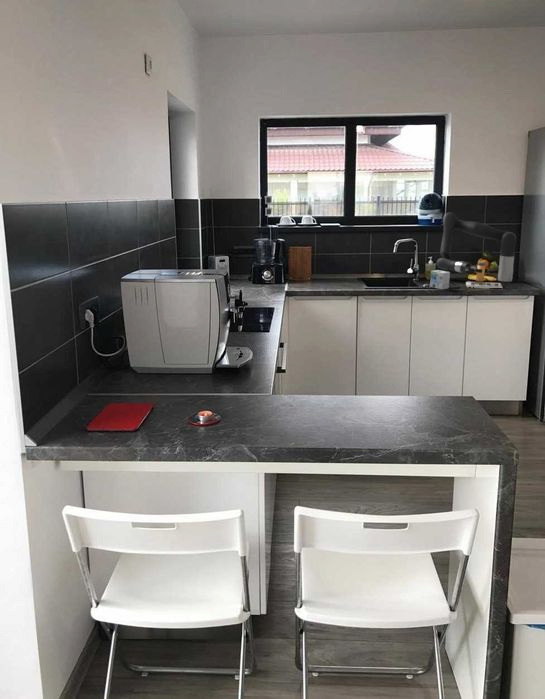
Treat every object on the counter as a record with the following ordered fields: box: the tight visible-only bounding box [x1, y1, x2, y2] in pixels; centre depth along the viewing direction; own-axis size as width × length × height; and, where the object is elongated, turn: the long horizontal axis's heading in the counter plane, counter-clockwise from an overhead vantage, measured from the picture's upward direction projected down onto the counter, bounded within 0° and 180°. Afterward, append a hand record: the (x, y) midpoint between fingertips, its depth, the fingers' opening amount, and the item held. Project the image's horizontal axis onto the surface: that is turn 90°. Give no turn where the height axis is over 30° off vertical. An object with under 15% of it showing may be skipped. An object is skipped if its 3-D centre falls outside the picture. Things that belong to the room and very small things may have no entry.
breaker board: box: [465, 281, 503, 289], centre depth 451 cm, size 22×14×3 cm, turn 78°
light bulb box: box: [429, 269, 451, 290], centre depth 443 cm, size 11×7×11 cm, turn 37°
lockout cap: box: [475, 261, 486, 282], centre depth 451 cm, size 5×5×12 cm
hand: (484, 270), depth 449 cm, fingers closed on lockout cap, 4 cm apart
